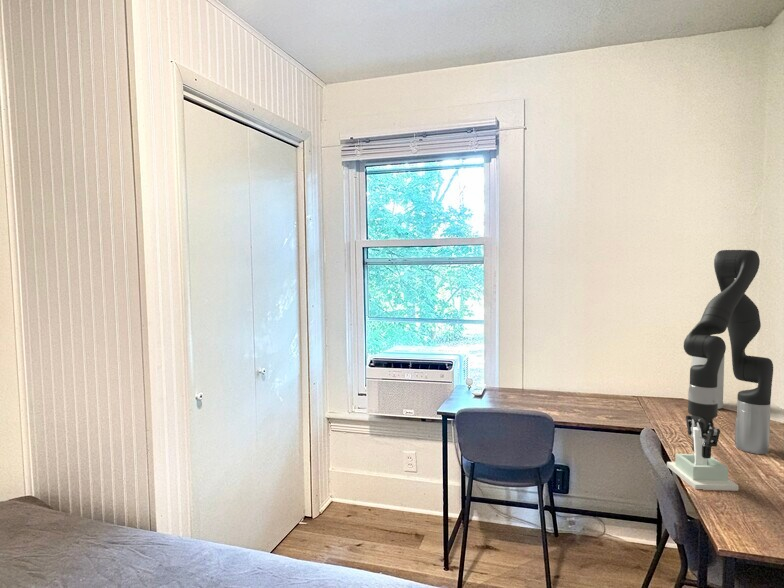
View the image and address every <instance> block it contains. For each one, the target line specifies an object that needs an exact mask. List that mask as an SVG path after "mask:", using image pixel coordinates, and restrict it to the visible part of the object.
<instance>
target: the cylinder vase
mask: <svg viewBox="0 0 784 588" xmlns="http://www.w3.org/2000/svg"><path fill="white" fill-rule="evenodd" d="M706 362H707V358H700V357H694V356H691V365H690V368H691V367H692V366H693V365H705V364H706ZM724 380H725V355H724V356H723V359H722V361H721V364H720V367H719V371H718V379H717V390H718V410H721V409H723V407H724V387H725V386H724V385H725V384H724V383H725V382H724Z"/></svg>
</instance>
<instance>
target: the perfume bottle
mask: <svg viewBox="0 0 784 588" xmlns="http://www.w3.org/2000/svg"><path fill="white" fill-rule="evenodd" d="M698 421H699V420H698ZM703 435H708V434H703ZM693 438H694V451H693V452H694V453H693V454H694V456H695V462H694V465H707V458H703V457H702V439H701V438H700V437H699V430H698V428H697V426H696V427H693ZM705 440H707V438H705Z"/></svg>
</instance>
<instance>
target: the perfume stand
mask: <svg viewBox="0 0 784 588" xmlns="http://www.w3.org/2000/svg"><path fill="white" fill-rule="evenodd" d="M694 462H695V456H694V453H675V461H666V467H667V468H668V469H670V471H672V472H673V473H674V474H675V475H677V476H678V477H679V478H680V479H682V480H683V481H684V482H685V483H687V484H688V486H690V487H691V486H692V487H691V488H693V490H695V489H703V490H702V491H704V490H705V491H733V492H735V491H738V492H739V488H740V487H739V485H738V484H737V483H735V482H734V481H733V480H731V479H730V478H729V466H727V465H725V464H724V463H722V462H721V461H719V460H717V459H716V458H715V457H713V456H712V455H711V458H707V465H694Z"/></svg>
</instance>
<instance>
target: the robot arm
mask: <svg viewBox="0 0 784 588" xmlns="http://www.w3.org/2000/svg"><path fill="white" fill-rule="evenodd" d="M713 262H714V263H713V267H714V273H715V276H716V280H717V283H718V287H719V290H720V292H719V293H718V294H717V295H715V296H714V297H712V299H710V301H709V302H708V303H707V304H706V307H705V308H704V311H703V313H702V316H701V318H700V321H698V322H697V323H696V324H695V326H694V327H693V328H692V329H691V330H690V331H689V333H688V334H687V335H686V337H685V339H684V341H683V350H684V353H686V355H688V356H690V357H692V356H694V357H700V358H707V362H706V364H705V365H693V366H692V367H691V366H690V369H689V387H688V391H687V393H688V394H687V395H688V397H687V400H688V401H687V413H688V414H689V415H686V416H685V421H686V429H687V434H688V436H690V438H691V439H692V445H691V446H692V447H691V448H692V449H691V450H692V451H693V452H694V438H693V427H696V426H697V428H698V430H699V437H700V438H701V439H702V457H703V458H711V456H712V447H717V446H718V443H719V438H720V434H721V429H720V428H715V425H714V419H716V418H717V417H718V411H719V409H718V390H717V379H718V371H719V367H720V364H721V361H722V359H723V356H724V357H725V353H726V349H727V347H726V346H727V345H726V342H725V341H724V339H723V338H722V337H720V336H717V335H719V334H720V335H721V334H723V333H725V332H726V330H727V332H728V336H729V342H730V350H731V362H732V363H731V364H732V372H733V375H734V378H736V380H738V381H742V382H748V383H754V384H758V385H757V387H755V388H753V389H745V390H744V389H743V390H739V391H738V393H737V397H736V398H737V403H736V410H737V411H736V418H735V422H734V423H735V424H734V445H735V447H736V448H737V449H739V450H741V451H743V452H746V453H750V454H754V455H755V454H757V455H765V454H766V455H767V454H769V449H770V428H771V427H770V425H771V398H772V387H773V376H774V364H773V360H772V359H770V358H769V357H764V356H763V357H762V356H757V355H756V356H755V355H747V354H746V351H745V350H746V348H747V347H748V345H749V344H750V342H752V341H753V339H755V337H756V336H757V334H758V333H760V330H761V327H762V325H761V324H762V323H761V317H760V311H759V308H758V305H756V304H755V303H754V301H753V300H752V299H751V298H750V297H749V296H748V295H747V294H746V291H747V290H748V289H749V287H750V286H751V283H752V282H753V281H754V280H755V277H756V276H757V273H758V271H759V269H760V257H759V253H758V252H756V251H755V250H752V249H722V250H719V251H718V252H716V254H715V256H714V260H713ZM698 420H699V421H698ZM703 434H708V435H703ZM705 438H707V440H705Z"/></svg>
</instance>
